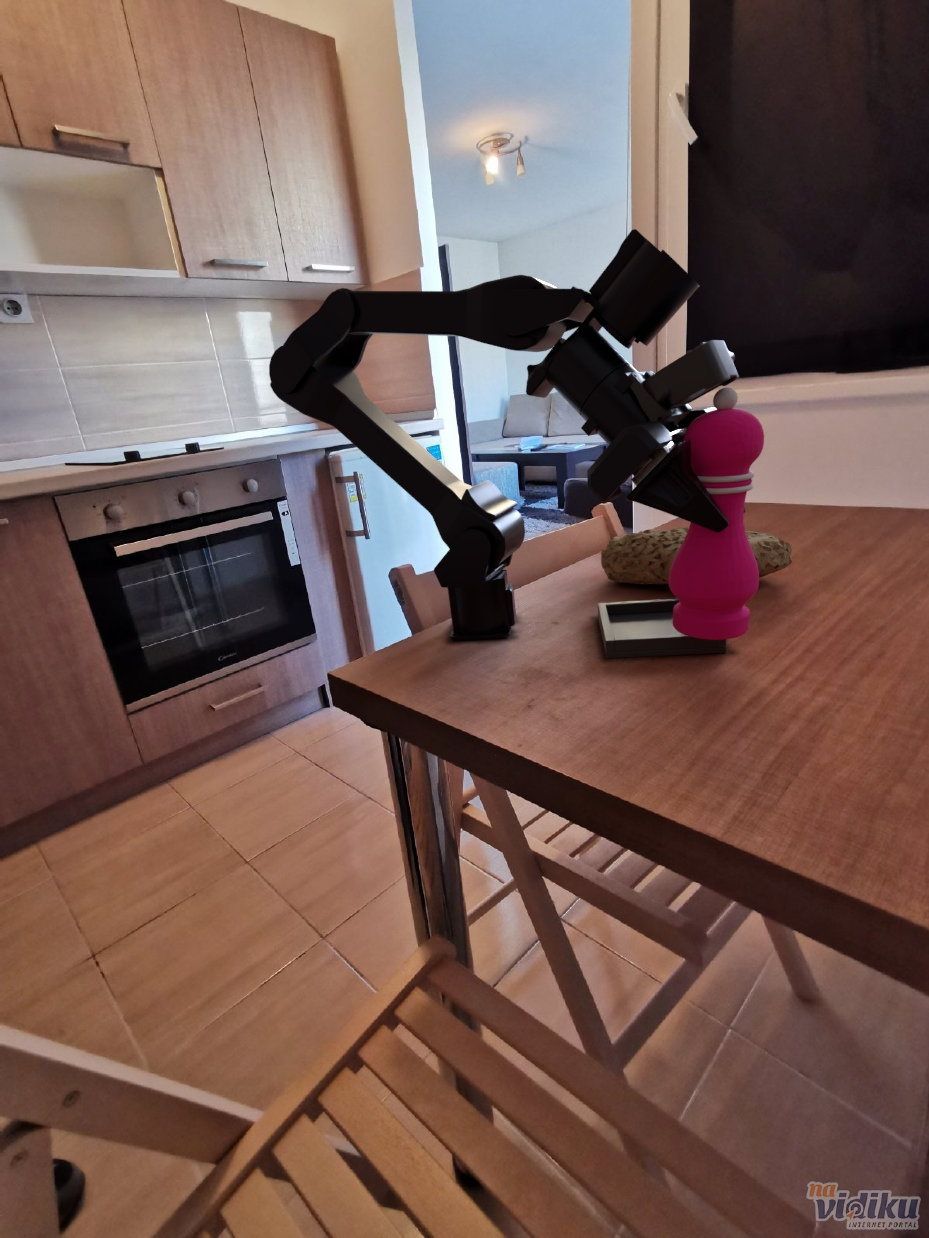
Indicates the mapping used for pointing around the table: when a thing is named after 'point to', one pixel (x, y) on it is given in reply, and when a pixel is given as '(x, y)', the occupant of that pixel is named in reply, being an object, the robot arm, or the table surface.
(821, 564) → the table surface
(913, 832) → the table surface
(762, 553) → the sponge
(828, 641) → the table surface
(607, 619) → the shallow square tray
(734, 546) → the pepper mill
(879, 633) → the table surface
